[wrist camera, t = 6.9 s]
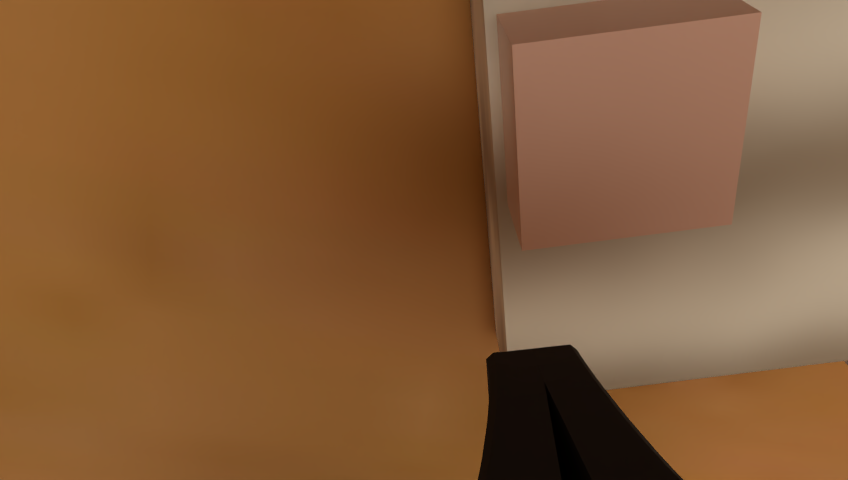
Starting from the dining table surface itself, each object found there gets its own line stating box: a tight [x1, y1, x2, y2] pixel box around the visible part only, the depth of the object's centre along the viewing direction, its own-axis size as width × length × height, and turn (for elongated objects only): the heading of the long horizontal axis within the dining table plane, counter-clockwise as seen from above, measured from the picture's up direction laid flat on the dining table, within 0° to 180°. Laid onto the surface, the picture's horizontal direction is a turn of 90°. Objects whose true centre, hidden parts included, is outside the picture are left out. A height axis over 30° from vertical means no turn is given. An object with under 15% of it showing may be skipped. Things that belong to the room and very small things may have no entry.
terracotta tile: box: [496, 0, 762, 251], centre depth 15 cm, size 4×4×2 cm
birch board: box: [470, 0, 848, 390], centre depth 19 cm, size 12×10×3 cm
